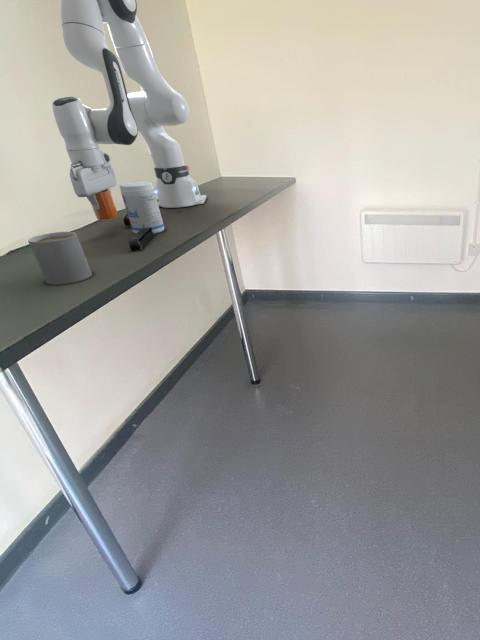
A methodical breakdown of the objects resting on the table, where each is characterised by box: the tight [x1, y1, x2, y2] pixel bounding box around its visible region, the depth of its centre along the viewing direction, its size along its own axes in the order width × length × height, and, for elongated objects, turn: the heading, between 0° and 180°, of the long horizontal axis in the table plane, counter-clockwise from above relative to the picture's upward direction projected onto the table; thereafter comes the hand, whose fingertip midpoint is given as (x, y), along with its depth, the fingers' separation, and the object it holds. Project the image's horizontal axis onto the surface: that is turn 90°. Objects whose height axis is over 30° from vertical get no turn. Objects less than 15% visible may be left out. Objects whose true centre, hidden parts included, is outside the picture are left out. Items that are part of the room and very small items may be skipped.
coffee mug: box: [28, 231, 93, 286], centre depth 118 cm, size 13×10×10 cm
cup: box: [90, 189, 119, 221], centre depth 156 cm, size 6×6×8 cm
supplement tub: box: [119, 181, 165, 235], centre depth 154 cm, size 10×10×15 cm
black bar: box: [128, 227, 155, 252], centre depth 145 cm, size 18×3×3 cm, turn 12°
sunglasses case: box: [123, 213, 132, 228], centre depth 171 cm, size 18×7×7 cm
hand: (103, 206), depth 156 cm, fingers closed on cup, 6 cm apart
